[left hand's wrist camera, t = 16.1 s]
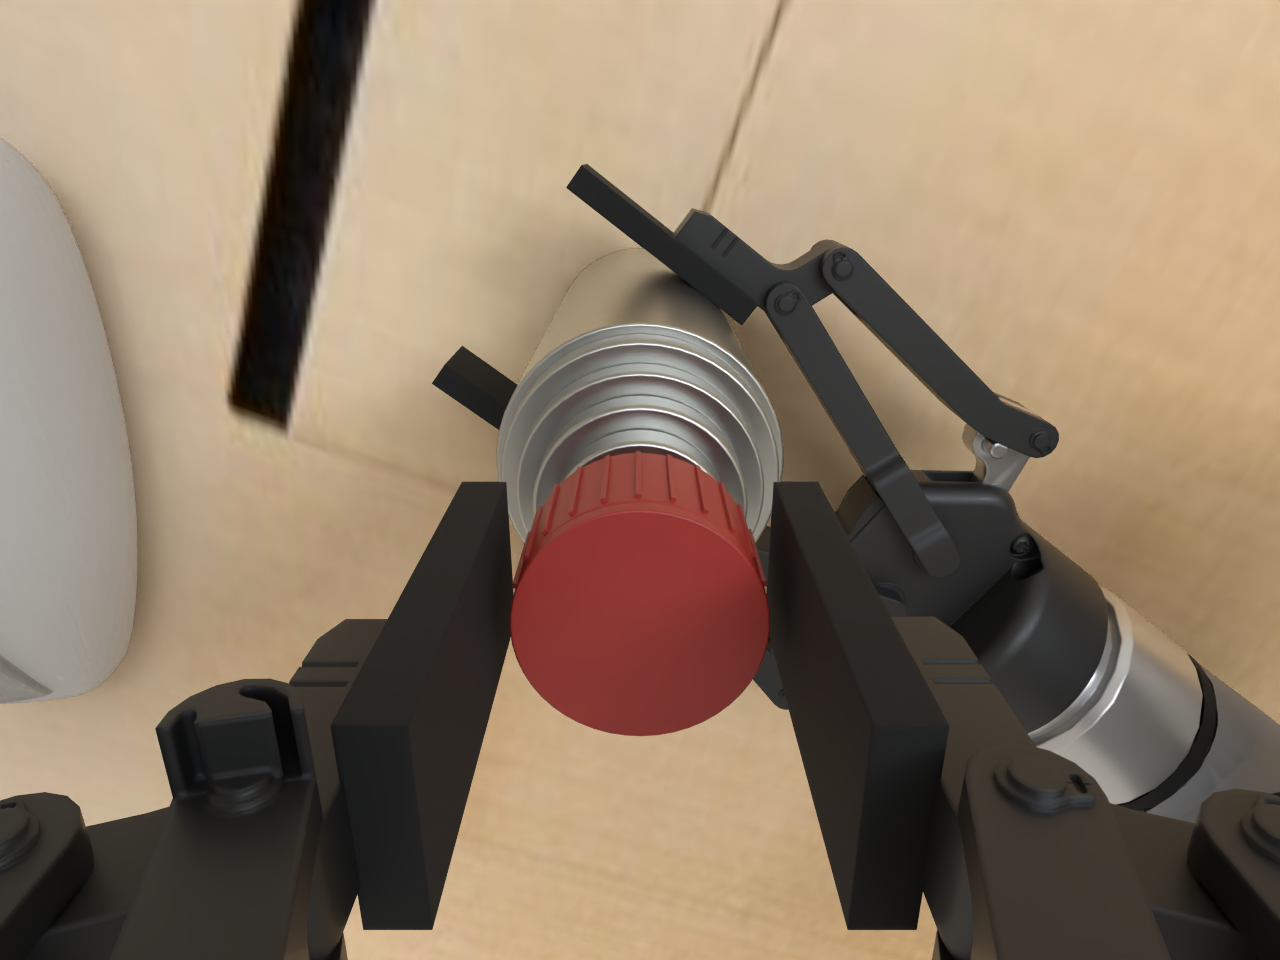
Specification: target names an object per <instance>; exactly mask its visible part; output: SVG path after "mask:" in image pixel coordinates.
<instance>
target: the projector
mask: <svg viewBox="0 0 1280 960" xmlns="http://www.w3.org/2000/svg"><path fill="white" fill-rule="evenodd" d="M137 566H138V551H137V515H136V501H135V489H134V479H133V470H132V461H131V455H130V449H129V442H128V436H127V430H126V423H125V417H124V413H123V408H122V403H121V398H120V393H119V388H118V383H117V378H116V374H115V370H114V366H113V361H112V357H111V353H110V349H109V345H108V341H107V337H106V333H105V329H104V326H103V322H102V319H101V315H100V312H99V308H98V305H97V301H96V297H95V294H94V291H93V288H92V285H91V282H90V279H89V275H88V272H87V269H86V266H85V263H84V260H83V257H82V255H81V252H80V250H79V247H78V244H77V242H76V239H75V237H74V234H73V232H72V229H71V227H70V224H69V222H68V220H67V218H66V216H65V214H64V212H63V210H62V208H61V206H60V204H59V202H58V200H57V198H56V196H55V195H54V193H53V192H52V190H51V188H50V187H49V185H48V184H47V182H46V181H45V179H44V178H43V177H42V176H41V174H40V173H39V172H38V170H37V169H36V168H35V167H34V166H33V165H32V164H31V163H30V162H29V161H28V160H27V159H26V158H25V157H24V156H23V155H22V154H21V153H20V152H19V151H18V150H17V149H15V148H14V147H13V146H11V145H10V144H9V143H7V142H6V141H4V140H3V139H1V138H0V704H2V703H25V702H38V701H49V700H56V699H64V698H68V697H73V696H77V695H80V694H84V693H86V692H89V691H91V690H93V689H94V688H96V687H97V686H99V685H100V684H101V683H102V682H103V681H104V680H105V679H106V678H108V677H109V676H110V675H111V674H112V672H113V671H114V670H115V669H116V668H117V667H118V665H119V664H120V662H121V661H122V659H123V657H124V656H125V654H126V652H127V649H128V646H129V643H130V639H131V634H132V629H133V624H134V614H135V605H136V592H137Z"/></svg>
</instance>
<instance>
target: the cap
mask: <svg viewBox="0 0 1280 960" xmlns="http://www.w3.org/2000/svg"><path fill="white" fill-rule="evenodd" d="M765 585H767V581H766V577H765V574H764V571H763V567H762V564H761V560H760V557H759V554H758V550H757V547H756V544H755V540H754V537H753V533H752V530H751V529H748V526H747V523H746V519H745V516H744V513H743V509H742V506H741V505H740V504H738V505H737V504H736V502H735V501H734V500H733V498H732V497H731V495H730V494H729V493H728V492H727V491H726V489H725V485H724V484H723V483H722V482H720V483H719V482H717V481H716V480H715V479H714V478H713V477H711V476H710V475H709V474H707V473H706V472H704V471H703V470H701V467H700V466H698V465H696V466H694V465H692V464H689V463H687V462H685V461H683V460H679V459H676V458H673V457H672V455H669V454H667V456H665V455H659V454H652V453H641V451H636V453H629V454H621V455H616V456H611V457H610V455H607V456H605V458H604V459H601V460H598V461H595V462H593V463H591V464H589V465H587V466H584V467H582V466H580V467H578V468H577V471H576V472H574V473H573V474H571V475H570V476H568V477H567V478H566V479H565V480H564V481H563V482H562V483H560V484H559V485H558V484H556V485H555V486H554V487H553V491H552V493H551V494H550V495H549V497H548V498H547V500H546V501H545V503H544V504H543V506H542V507H540V506H538V508H537V510H536V514H535V517H534V521H533V524H532V528H531V531H530V532H528V534H527V537H526V541H525V544H524V548H523V551H522V554H521V558H520V561H519V565H518V568H517V571H516V575H515V578H514V581H513V585H512V588H515V593H514V596H513V600H512V605H511V612H510V633H511V639H512V645H513V648H514V652H515V655H516V658H517V660H518V663H519V665H520V667H521V669H522V671H523V673H524V674H525V676H526V678H527V679H528V681H529V682H530V684H531V685H532V686H533V687H534V689H535V690H536V691H537V692H538V693H539V694H540V696H541V697H542V698H544V699H545V700H546V701H547V702H548V703H549V704H550V705H551V706H553V707H554V708H555V709H557V710H558V711H560V712H561V713H562V714H564V715H565V716H567V717H569V718H571V719H573V720H575V721H577V722H578V723H581V724H583V725H586V726H588V727H591V728H593V729H597V730H601V731H604V732H608V733H613V734H620V735H629V736H650V735H661V734H666V733H672V732H676V731H679V730H683V729H686V728H689V727H692V726H694V725H697V724H699V723H702V722H704V721H706V720H707V719H709V718H711V717H713V716H714V715H716V714H718V713H719V712H721V711H722V710H723V709H725V708H726V707H727V706H729V705H730V704H731V703H732V702H733V701H734V700H735V699H736V698H737V697H739V696H740V695H741V693H742V692H743V691H744V690H745V689H746V687H747V686H748V685H749V684H750V682H751V681H752V679H753V678H754V676H755V674H756V673H757V671H758V669H759V667H760V665H761V663H762V660H763V658H764V656H765V652H766V648H767V645H768V640H769V632H770V609H769V605H768V600H767V596H766V592H765V589H764V586H765Z"/></svg>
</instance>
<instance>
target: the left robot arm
mask: <svg viewBox="0 0 1280 960" xmlns="http://www.w3.org/2000/svg"><path fill="white" fill-rule="evenodd" d="M512 585H513V580H512V564H511V548H510V532H509V516H508V499H507V483H506V482H462V483H461V485H460V487H459V489H458V491H457V492H456V494H455V496H454V498H453V500H452V502H451V503H450V505H449V507H448V509H447V511H446V513H445V515H444V516H443V518H442V520H441V522H440V524H439V526H438V527H437V529H436V531H435V533H434V535H433V537H432V539H431V540H430V542H429V544H428V546H427V548H426V550H425V551H424V553H423V555H422V557H421V559H420V561H419V563H418V564H417V566H416V568H415V570H414V572H413V574H412V575H411V577H410V579H409V581H408V583H407V585H406V587H405V588H404V590H403V592H402V594H401V596H400V598H399V599H398V601H397V603H396V605H395V607H394V609H393V611H392V612H391V614H390V616H389V618H388V619H345V620H344V621H343V622H341V623H340V624H338V625H337V626H336V627H334V628H333V629H331V630H330V631H329V632H327V633H326V634H324V635H323V636H322V637H320V638H319V639H318V640H317V641H316V643H315V644H314V646H313V647H312V649H311V650H310V652H309V653H308V655H307V656H306V658H305V659H304V661H303V662H302V667H299V668H298V670H297V671H296V673H295V674H294V676H293V677H292V679H291V680H290V682H289V683H290V684H288V683H284V682H281V681H277V680H273V679H243V680H239V681H234V682H230V683H225V684H221V685H216V686H214V687H212V688H209V689H207V690H205V691H202V692H200V693H198V694H195V695H193V696H190V697H189V698H187V699H186V700H185V701H183V702H182V703H180V704H179V705H177V706H176V707H174V708H173V709H172V710H170V711H169V712H168V713H167V714H166V716H165V717H164V718H163V719H162V721H161V722H160V723H159V724H158V726H157V727H156V728H155V729H156V733H157V737H158V741H159V745H160V749H161V752H162V756H163V760H164V764H165V768H166V772H167V776H168V780H169V784H170V788H171V792H172V796H173V799H172V802H171V804H170V807H167V808H163V809H160V810H156V811H153V812H149V813H146V814H141V815H137V816H132V817H128V818H123V819H119V820H114V821H110V822H105V823H101V824H96V825H92V826H87V827H86V826H85V823H84V820H83V816H82V813H81V810H80V807H79V806H78V805H77V804H76V803H75V802H73V801H72V800H71V799H70V798H69V797H68V796H64V795H58V794H52V793H46V792H43V793H35V794H27V795H18V796H14V797H11V798H8V799H4V800H1V801H0V960H348V959H347V952H346V945H345V940H344V934H343V930H344V928H345V925H346V923H347V920H348V917H349V915H350V912H351V910H352V907H353V904H354V902H355V899H356V896H357V894H358V899H359V905H360V912H361V918H362V924H363V930H432V929H433V925H434V921H435V918H436V914H437V910H438V906H439V903H440V899H441V895H442V891H443V888H444V884H445V880H446V876H447V873H448V869H449V865H450V862H451V858H452V854H453V850H454V847H455V843H456V839H457V835H458V832H459V828H460V824H461V820H462V817H463V813H464V809H465V805H466V802H467V798H468V794H469V791H470V787H471V783H472V779H473V776H474V772H475V768H476V764H477V761H478V757H479V753H480V749H481V746H482V742H483V738H484V734H485V731H486V727H487V723H488V720H489V716H490V712H491V708H492V705H493V701H494V697H495V693H496V690H497V686H498V682H499V678H500V675H501V671H502V667H503V664H504V660H505V656H506V652H507V649H508V645H509V641H510V637H511V633H510V612H511V605H512V600H513V588H512ZM767 600H768V605H769V609H770V632H769V637H770V641H771V645H772V649H773V652H774V656H775V660H776V664H777V667H778V671H779V675H780V678H781V682H782V686H783V690H784V693H785V697H786V701H787V705H788V708H789V712H790V716H791V720H792V723H793V727H794V731H795V735H796V738H797V742H798V746H799V749H800V753H801V757H802V761H803V764H804V768H805V772H806V776H807V779H808V783H809V787H810V791H811V794H812V798H813V802H814V806H815V809H816V813H817V817H818V820H819V824H820V828H821V832H822V835H823V839H824V843H825V847H826V850H827V854H828V858H829V862H830V865H831V869H832V873H833V876H834V880H835V884H836V888H837V891H838V895H839V899H840V903H841V906H842V910H843V914H844V918H845V921H846V925H847V929H848V930H917V924H918V918H919V911H920V905H921V899H922V893H923V892H924V895H925V898H926V900H927V903H928V905H929V908H930V911H931V913H932V916H933V918H934V921H935V924H936V926H937V934H936V940H935V945H934V951H933V957H932V960H1280V796H1276V795H1272V794H1269V793H1266V792H1259V791H1251V790H1242V789H1232V790H1226V791H1220V792H1214V793H1213V794H1212V795H1211V796H1209V797H1208V798H1207V799H1206V800H1205V801H1203V802H1202V803H1201V807H1200V810H1199V813H1198V816H1197V820H1196V823H1191V822H1186V821H1182V820H1177V819H1173V818H1168V817H1164V816H1159V815H1155V814H1150V813H1146V812H1141V811H1137V810H1132V809H1129V808H1126V807H1122V806H1119V805H1115V804H1112V803H1109V800H1108V798H1107V796H1106V795H1105V793H1104V792H1103V790H1102V789H1101V787H1100V786H1099V784H1098V783H1097V781H1096V780H1095V778H1093V777H1092V776H1091V775H1090V774H1088V773H1087V772H1086V771H1084V770H1083V769H1082V768H1081V767H1079V766H1078V765H1077V764H1076V763H1074V762H1072V761H1070V760H1068V759H1066V758H1064V757H1062V756H1060V755H1058V754H1056V753H1053V752H1051V751H1049V750H1046V749H1042V748H1038V747H1036V745H1035V744H1034V743H1033V741H1032V740H1031V738H1030V737H1029V735H1028V734H1027V732H1026V731H1025V729H1024V728H1023V726H1022V725H1021V723H1020V722H1019V720H1018V719H1017V717H1016V716H1015V714H1014V713H1013V711H1012V710H1011V708H1010V707H1009V705H1008V704H1007V702H1006V701H1005V699H1004V698H1003V696H1002V695H1001V693H1000V692H999V690H998V689H997V687H996V686H995V684H991V678H990V677H989V675H988V674H987V672H986V671H985V669H984V668H983V666H982V665H981V664H978V659H977V657H976V656H975V654H974V653H973V651H972V650H971V648H970V647H969V645H968V644H967V642H966V641H965V639H964V638H963V636H961V635H960V634H958V633H957V632H956V631H954V630H953V629H951V628H950V627H948V626H947V625H946V624H944V623H943V622H941V621H940V620H939V619H937V618H936V617H891V616H890V614H889V612H888V611H887V609H886V607H885V605H884V603H883V601H882V600H881V598H880V596H879V594H878V592H877V590H876V588H875V587H874V585H873V583H872V581H871V579H870V577H869V576H868V574H867V572H866V570H865V568H864V566H863V564H862V563H861V561H860V559H859V557H858V555H857V553H856V552H855V550H854V548H853V546H852V544H851V542H850V540H849V539H848V537H847V535H846V533H845V531H844V529H843V527H842V526H841V524H840V522H839V520H838V518H837V516H836V515H835V513H834V511H833V509H832V507H831V505H830V503H829V502H828V500H827V498H826V496H825V494H824V492H823V491H822V489H821V487H820V485H819V483H818V482H774V483H773V499H772V515H771V531H770V548H769V564H768V580H767Z"/></svg>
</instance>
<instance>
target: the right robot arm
mask: <svg viewBox="0 0 1280 960" xmlns="http://www.w3.org/2000/svg"><path fill="white" fill-rule="evenodd" d="M566 188H567V189H569V190H570V191H571V192H572V193H574V194H575V195H576V196H578V197H579V198H580V199H581V200H583V201H584V202H585V203H586V204H588V205H589V206H590V207H592V208H593V209H594V210H595V211H597V212H598V213H599V214H600V215H602V216H603V217H604V218H606V219H607V220H608V221H609V222H611V223H612V224H613V225H615V226H616V227H617V228H618V229H620V230H621V231H622V232H623V233H625V234H626V235H627V236H629V237H630V238H631V239H632V240H634V241H635V242H636V243H637V244H639V245H640V246H641V247H643V248H644V249H645V250H646V251H648V252H649V253H650V254H652V255H653V256H654V257H655V258H657V259H658V260H659V261H660V262H662V263H663V264H664V265H666V266H667V267H668V268H669V269H671V270H672V271H673V272H674V273H676V274H677V275H678V276H680V277H681V278H682V279H683V280H685V281H686V282H687V283H689V284H690V285H691V286H692V287H694V288H695V289H696V290H697V291H699V292H700V293H701V294H703V295H704V296H705V297H707V298H708V299H709V300H710V301H711V302H713V303H714V304H715V305H717V306H718V307H719V308H720V309H722V310H723V311H724V312H725V313H727V314H728V315H729V316H731V317H732V318H733V319H734V320H736V321H737V322H738V323H740V324H741V325H742V324H743V323H744V322H745V321H746V319H747V318H748V317H749V316H750V314H751V313H752V312H753V311H754V310H755V308H756V307H757V306H759V307H760V308H761V309H762V310H764V311H765V313H766V315H767V316H768V318H769V319H770V321H771V323H772V324H773V326H774V328H775V329H776V331H777V332H778V334H779V336H780V337H781V339H782V341H783V342H784V344H785V345H786V347H787V349H788V350H789V352H790V354H791V355H792V357H793V359H794V360H795V362H796V363H797V365H798V367H799V368H800V370H801V372H802V373H803V375H804V376H805V378H806V380H807V381H808V383H809V385H810V386H811V388H812V389H813V391H814V393H815V394H816V396H817V398H818V399H819V401H820V403H821V404H822V406H823V407H824V409H825V411H826V412H827V414H828V416H829V417H830V419H831V420H832V422H833V424H834V425H835V427H836V429H837V430H838V432H839V433H840V435H841V437H842V438H843V440H844V442H845V443H846V445H847V447H848V448H849V450H850V452H851V454H852V455H853V457H854V459H855V460H856V462H857V463H858V465H859V467H860V468H861V470H862V472H863V473H864V475H865V476H866V477H865V476H864V475H862V476H861V477H860V478H859V479H858V480H857V481H856V482H855V484H854V485H853V486H852V487H851V488H850V489H849V490H848V492H847V494H846V495H845V497H844V499H843V501H842V503H841V505H840V507H839V508H838V510H837V511H835V512H834V513H835V515H836V516H837V518H838V520H839V522H840V524H841V526H842V527H843V529H844V531H845V533H846V535H847V537H848V539H849V540H850V542H851V544H852V546H853V548H854V550H855V552H856V553H857V555H858V557H859V559H860V561H861V563H862V564H863V566H864V568H865V570H866V572H867V574H868V576H869V577H870V579H871V581H872V583H873V585H874V587H875V588H876V590H877V592H878V594H879V596H880V598H881V600H882V601H883V603H884V605H885V607H886V609H887V611H888V612H889V614H890V616H891V617H936V618H937V619H939V620H940V621H941V622H943V623H944V624H946V625H947V626H948V627H950V628H951V629H953V630H954V631H956V632H957V633H958V634H960V635H961V636H963V638H964V639H965V641H966V642H967V644H968V645H969V647H970V648H971V650H972V651H973V653H974V654H975V656H976V657H977V659H978V664H981V665H982V666H983V668H984V669H985V671H986V672H987V674H988V675H989V677H990V678H991V684H995V686H996V687H997V689H998V690H999V692H1000V693H1001V695H1002V696H1003V698H1004V699H1005V701H1006V702H1007V704H1008V705H1009V707H1010V708H1011V710H1012V711H1013V713H1014V714H1015V716H1016V717H1017V719H1018V720H1019V722H1020V723H1021V725H1022V726H1023V728H1024V729H1025V731H1026V732H1027V734H1028V735H1029V737H1030V738H1031V740H1032V741H1033V743H1034V744H1035V745H1036V747H1038V748H1042V749H1046V750H1049V751H1051V752H1053V753H1056V754H1058V755H1060V756H1062V757H1064V758H1066V759H1068V760H1070V761H1072V762H1074V763H1076V764H1077V765H1078V766H1079V767H1081V768H1082V769H1083V770H1084V771H1086V772H1087V773H1088V774H1090V775H1091V776H1092V777H1093V778H1095V780H1096V781H1097V783H1098V784H1099V786H1100V787H1101V789H1102V790H1103V792H1104V793H1105V795H1106V796H1107V798H1108V800H1109V803H1112V804H1115V805H1119V806H1122V807H1126V808H1129V809H1132V810H1137V811H1141V812H1146V813H1150V814H1155V815H1159V816H1164V817H1168V818H1173V819H1177V820H1182V821H1186V822H1191V823H1196V820H1197V816H1198V813H1199V810H1200V807H1201V803H1202V802H1203V801H1205V800H1206V799H1207V798H1208V797H1209V796H1211V795H1212V794H1213V793H1214V792H1220V791H1226V790H1232V789H1242V790H1251V791H1259V792H1266V793H1269V794H1272V795H1276V796H1280V725H1279V724H1277V723H1276V722H1275V721H1274V720H1272V719H1271V718H1270V717H1269V716H1267V715H1266V714H1265V713H1264V712H1262V711H1261V710H1260V709H1258V708H1257V707H1256V706H1254V705H1253V704H1252V703H1250V702H1249V701H1248V700H1246V699H1245V698H1244V697H1242V696H1241V695H1240V694H1238V693H1237V692H1236V691H1234V690H1233V689H1232V688H1230V687H1229V686H1228V685H1226V684H1225V683H1224V682H1222V681H1221V680H1220V679H1218V678H1217V677H1216V676H1214V675H1213V674H1211V673H1210V672H1209V671H1207V670H1206V669H1205V668H1203V667H1202V666H1201V665H1199V664H1198V663H1197V662H1196V661H1195V660H1194V659H1193V658H1192V657H1191V656H1190V655H1189V654H1188V653H1187V652H1186V651H1185V650H1184V649H1182V648H1181V647H1180V646H1179V645H1177V644H1176V643H1175V642H1174V641H1172V640H1171V639H1170V638H1169V637H1167V636H1166V635H1165V634H1164V633H1162V632H1161V631H1160V630H1159V629H1157V628H1156V627H1155V626H1154V625H1152V624H1151V623H1150V622H1149V621H1147V620H1146V619H1145V618H1144V617H1142V616H1141V615H1140V614H1139V613H1137V612H1136V611H1135V610H1134V609H1132V608H1131V607H1130V606H1129V605H1127V604H1126V603H1125V602H1124V601H1122V600H1121V599H1120V598H1119V597H1117V596H1116V595H1115V594H1113V593H1112V592H1110V591H1109V590H1107V589H1106V588H1104V587H1103V586H1101V585H1098V583H1097V582H1096V581H1095V579H1094V578H1093V577H1092V576H1091V575H1090V574H1088V573H1087V572H1086V571H1084V570H1083V569H1082V568H1081V567H1079V566H1078V565H1077V564H1076V563H1074V562H1073V561H1072V560H1071V559H1069V558H1068V557H1067V556H1066V555H1064V554H1063V553H1062V552H1061V551H1059V550H1058V549H1057V548H1056V547H1054V546H1053V545H1052V544H1051V543H1049V542H1048V541H1047V540H1045V539H1044V538H1043V537H1042V536H1040V535H1039V534H1038V533H1037V532H1035V531H1034V530H1033V529H1032V528H1030V527H1029V526H1028V525H1027V524H1025V523H1024V522H1023V521H1022V520H1021V519H1020V518H1019V516H1018V514H1017V511H1016V507H1015V503H1014V501H1013V499H1012V497H1011V495H1010V494H1009V493H1008V492H1009V490H1010V488H1011V487H1012V485H1013V483H1014V482H1015V480H1016V479H1017V477H1018V475H1019V474H1020V472H1021V470H1022V469H1023V467H1024V466H1025V464H1026V462H1027V461H1028V459H1029V458H1030V457H1034V458H1040V457H1044V456H1046V455H1048V454H1050V453H1051V452H1052V451H1053V450H1054V449H1055V448H1056V446H1057V443H1058V441H1059V433H1058V431H1057V429H1056V428H1055V427H1054V426H1053V425H1051V424H1050V423H1048V422H1047V421H1045V420H1044V419H1042V418H1041V417H1039V416H1038V415H1036V414H1035V413H1033V412H1032V411H1030V410H1029V409H1027V408H1026V407H1024V406H1022V405H1021V404H1019V403H1018V402H1015V401H1013V400H1011V399H1008V398H1006V397H1004V396H1001V395H999V394H997V393H994V392H992V391H991V390H990V389H989V388H988V387H987V386H986V385H985V384H984V383H983V382H982V380H981V379H980V378H979V377H978V376H977V375H976V374H975V373H974V372H973V371H972V370H971V369H970V368H969V367H968V366H967V365H966V364H965V363H964V362H963V361H962V360H961V359H960V358H959V357H958V356H957V355H956V354H955V353H954V352H953V351H952V350H951V349H950V348H949V346H948V345H947V344H946V343H945V342H944V341H943V340H942V339H941V338H940V337H939V336H938V335H937V334H936V333H935V332H934V331H933V330H932V329H931V328H930V327H929V326H928V325H927V324H926V323H925V322H924V321H923V320H922V319H921V318H920V317H919V316H918V315H917V314H916V312H915V311H914V310H913V309H912V308H911V307H910V306H909V305H908V304H907V303H906V302H905V301H904V300H903V299H902V298H901V297H900V296H899V295H898V294H897V293H896V292H895V291H894V290H893V289H892V288H891V287H890V286H889V285H888V284H887V283H886V282H885V281H884V280H883V278H882V277H881V276H880V275H879V274H878V273H877V272H876V271H875V270H874V269H873V268H872V267H871V266H870V265H869V264H868V263H867V262H866V261H865V260H864V259H863V258H862V257H861V256H860V255H859V254H858V253H857V252H856V251H854V250H853V249H851V248H849V247H846V246H844V245H842V244H840V243H838V242H835V241H832V240H823V241H819V242H818V243H816V244H815V245H814V246H813V247H812V248H811V250H810V251H809V252H807V253H806V254H804V255H802V256H801V257H799V258H798V259H796V260H794V261H792V262H790V263H788V264H783V265H780V264H774V263H771V262H769V261H767V260H766V259H764V258H763V257H762V256H761V255H760V254H758V253H757V252H756V251H755V250H753V249H752V248H751V247H750V246H748V245H747V244H746V243H745V242H744V241H742V240H741V239H740V238H739V237H737V236H736V235H735V234H734V233H732V232H731V231H730V230H729V229H728V228H726V227H725V226H724V225H723V224H721V223H720V222H719V221H718V220H716V219H715V218H714V217H713V216H712V215H710V214H709V213H706V212H703V211H700V210H696V209H693V208H692V209H691V210H690V212H689V213H688V214H687V216H686V217H685V218H684V220H683V221H682V223H681V224H680V225H679V227H678V228H677V229H676V231H675V232H674V233H673V232H672V231H670V230H669V229H668V228H667V227H665V226H664V225H663V224H662V223H660V222H659V221H658V220H657V219H655V218H654V217H653V216H652V215H650V214H649V213H648V212H647V211H645V210H644V209H643V208H642V207H640V206H639V205H638V204H637V203H635V202H634V201H633V200H632V199H630V198H629V197H628V196H627V195H625V194H624V193H623V192H622V191H620V190H619V189H618V188H617V187H615V186H614V185H613V184H612V183H610V182H609V181H608V180H607V179H605V178H604V177H603V176H601V175H600V174H599V173H598V172H596V171H595V170H594V169H593V168H591V167H590V166H589V165H588V164H585V165H581V167H580V168H579V170H578V171H577V173H576V174H575V176H574V177H573V179H572V180H571V181H570V183H569V184H568V186H567V187H566ZM831 293H833V294H834V295H835V296H836V297H837V298H838V299H839V300H840V301H841V302H842V303H843V304H844V305H845V306H846V307H847V308H848V309H849V310H850V311H851V312H852V313H853V314H854V315H855V316H856V317H857V318H858V319H859V320H860V321H861V322H862V323H863V324H864V325H865V326H866V327H867V328H868V329H869V330H870V331H871V332H872V333H873V334H874V335H875V336H876V337H877V338H878V339H879V340H880V341H881V342H882V343H883V344H884V345H885V346H886V347H887V348H888V349H889V350H890V351H891V352H892V353H893V354H894V355H895V356H896V357H897V358H898V359H899V360H900V361H901V362H902V363H903V364H904V365H905V366H906V367H907V368H908V369H909V370H910V371H911V372H912V373H913V374H914V375H915V376H916V377H917V378H918V379H919V380H920V381H921V382H922V383H923V384H924V385H925V386H926V387H927V388H928V389H929V390H930V391H931V392H932V393H933V394H934V395H935V396H936V397H937V398H938V399H939V400H940V401H941V402H942V403H943V404H944V405H945V406H947V407H948V408H949V409H950V410H951V411H952V412H954V413H955V414H956V415H957V416H959V417H960V418H961V419H962V420H963V421H965V422H966V423H967V424H966V425H965V427H964V432H963V437H962V438H963V443H964V444H965V446H966V447H967V448H968V449H969V450H970V451H971V452H973V453H974V455H975V457H976V467H975V470H974V471H935V470H910V469H909V467H908V466H907V464H906V463H905V461H904V460H903V458H902V457H901V456H900V454H899V452H898V451H897V449H896V448H895V446H894V444H893V442H892V441H891V439H890V437H889V436H888V434H887V432H886V431H885V429H884V427H883V426H882V424H881V422H880V421H879V419H878V417H877V415H876V414H875V412H874V410H873V409H872V407H871V405H870V404H869V402H868V400H867V399H866V397H865V395H864V394H863V392H862V390H861V388H860V387H859V385H858V383H857V382H856V380H855V378H854V377H853V375H852V373H851V372H850V370H849V368H848V367H847V365H846V363H845V361H844V360H843V358H842V356H841V355H840V353H839V351H838V350H837V348H836V346H835V345H834V343H833V341H832V340H831V338H830V336H829V334H828V333H827V331H826V329H825V328H824V326H823V324H822V323H821V321H820V319H819V318H818V316H817V314H816V312H815V311H814V309H813V307H812V305H814V304H815V303H817V302H819V301H820V300H822V299H823V298H825V297H827V296H828V295H830V294H831ZM432 384H433V385H435V386H436V387H438V388H439V389H441V390H442V391H443V392H445V393H446V394H448V395H449V396H451V397H452V398H454V399H455V400H456V401H458V402H459V403H461V404H462V405H464V406H465V407H467V408H468V409H470V410H471V411H472V412H474V413H475V414H477V415H478V416H480V417H481V418H483V419H484V420H485V421H487V422H488V423H490V424H491V425H493V426H494V427H496V428H497V429H498V430H499V429H500V426H501V422H502V419H503V416H504V412H505V410H506V408H507V406H508V403H509V401H510V399H511V397H512V395H513V393H514V391H515V389H516V387H517V384H515V383H514V382H513V381H511V380H510V379H508V378H507V377H506V376H504V375H503V374H501V373H500V372H498V371H497V370H496V369H494V368H493V367H491V366H490V365H489V364H487V363H486V362H484V361H483V360H482V359H480V358H479V357H477V356H476V355H474V354H473V353H472V352H470V351H469V350H467V349H466V348H465V347H463V346H462V347H461V348H460V349H459V350H458V351H457V352H456V353H455V354H454V355H453V356H452V357H451V359H450V360H449V361H448V362H447V363H446V364H445V365H444V367H443V368H442V370H441V371H440V373H439V374H438V375H437V377H436V378H435V380H434V381H433V383H432ZM770 531H771V527H768V526H766V527H765V529H764V531H763V532H762V534H761V536H760V537H759V539H758V541H757V542H756V543H755V544H756V547H757V550H758V554H759V557H760V560H761V564H762V567H763V571H764V574H765V577H766V581H767V580H768V564H769V548H770ZM765 586H767V585H765ZM753 680H754V681H755V682H756V683H757V685H758V686H759V687H760V688H761V689H762V690H763V692H764V693H765V694H766V695H767V696H768V697H769V698H770V700H771V701H772V702H773V703H774V704H775V705H776V706H777V707H779V708H781V709H785V710H787V709H789V708H788V705H787V701H786V697H785V693H784V690H783V686H782V682H781V678H780V675H779V671H778V667H777V664H776V660H775V656H774V652H773V649H772V645H771V641H770V637H769V640H768V645H767V648H766V652H765V656H764V658H763V660H762V663H761V665H760V667H759V669H758V671H757V673H756V674H755V676H754V678H753Z"/></svg>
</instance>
